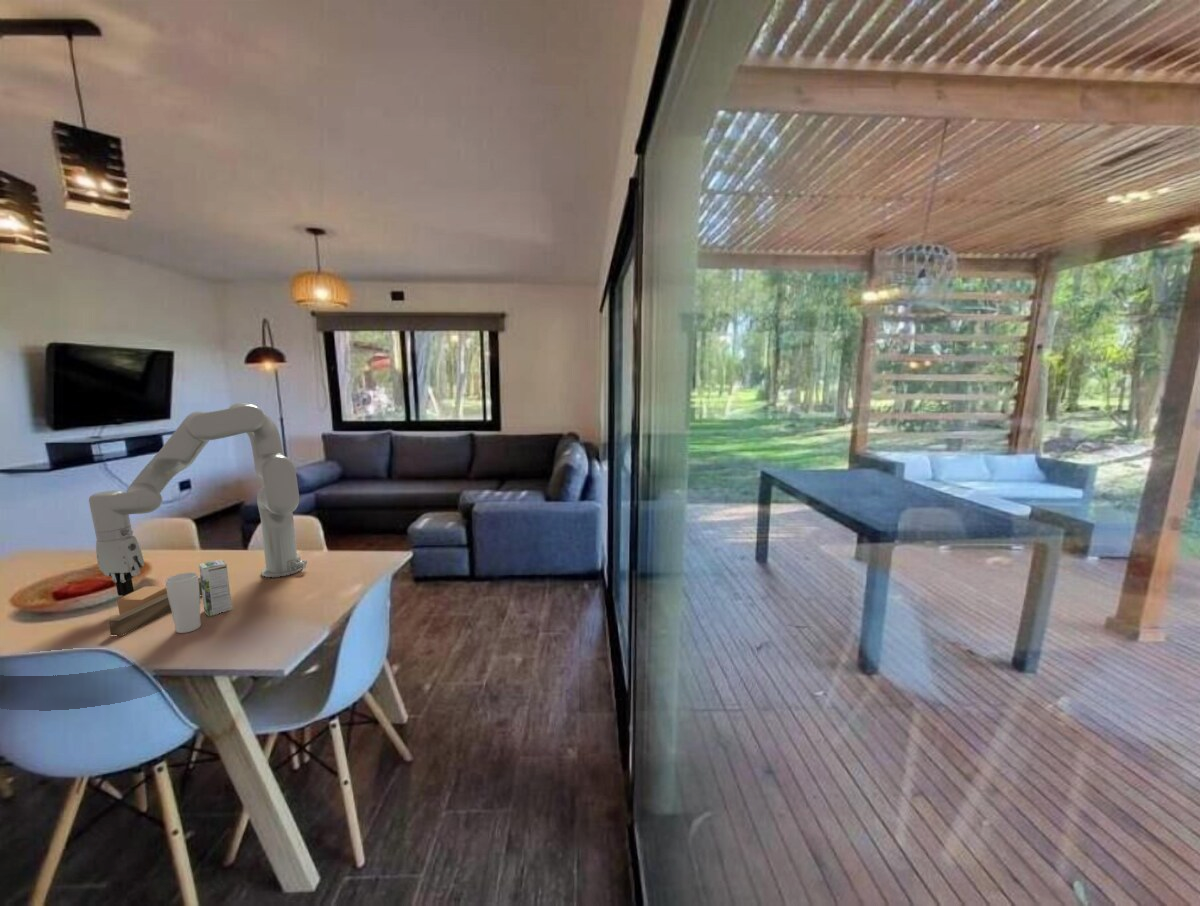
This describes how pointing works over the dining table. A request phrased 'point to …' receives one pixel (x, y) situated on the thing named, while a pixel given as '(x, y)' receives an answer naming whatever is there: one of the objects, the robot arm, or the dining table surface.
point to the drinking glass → (184, 601)
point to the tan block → (140, 597)
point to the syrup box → (215, 587)
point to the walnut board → (141, 615)
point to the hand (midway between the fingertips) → (126, 593)
